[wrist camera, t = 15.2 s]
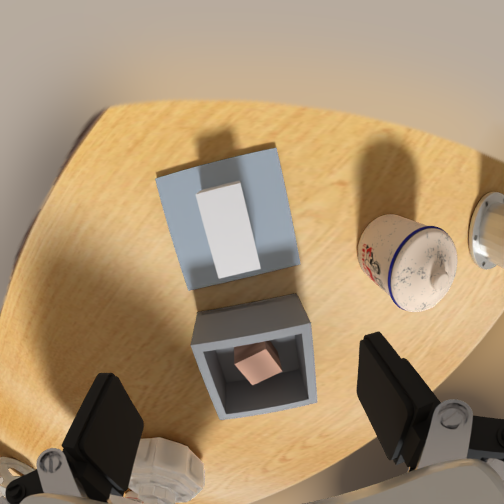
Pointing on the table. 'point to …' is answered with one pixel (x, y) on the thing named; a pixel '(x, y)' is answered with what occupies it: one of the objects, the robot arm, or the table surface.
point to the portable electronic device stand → (3, 464)
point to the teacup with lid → (408, 261)
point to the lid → (229, 219)
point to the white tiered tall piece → (164, 473)
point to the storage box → (248, 332)
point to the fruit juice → (133, 496)
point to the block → (257, 361)
